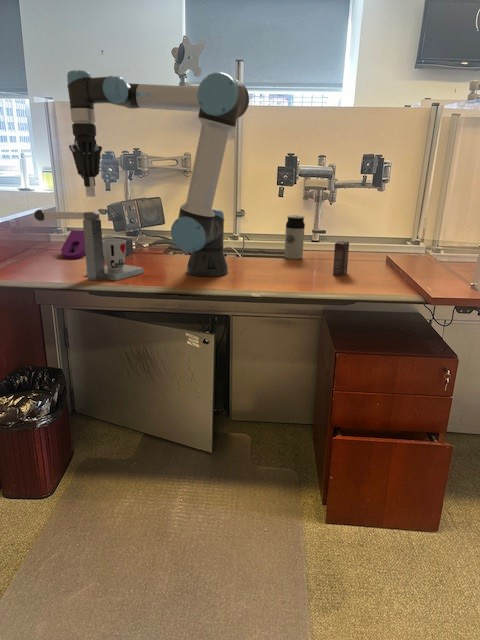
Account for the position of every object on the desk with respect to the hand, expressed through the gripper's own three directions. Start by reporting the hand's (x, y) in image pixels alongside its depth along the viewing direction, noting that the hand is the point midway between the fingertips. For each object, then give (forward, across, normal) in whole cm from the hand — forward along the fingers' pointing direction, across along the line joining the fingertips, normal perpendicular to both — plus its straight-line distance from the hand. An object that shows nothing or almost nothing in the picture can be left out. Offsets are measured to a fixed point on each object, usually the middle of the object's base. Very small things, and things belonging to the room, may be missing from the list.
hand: (90, 196), depth 161 cm
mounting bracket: (+26, -17, -28) cm, 42 cm away
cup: (+25, 0, +9) cm, 26 cm away
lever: (+7, +14, +3) cm, 16 cm away
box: (+29, -46, +77) cm, 95 cm away
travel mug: (+28, -65, +51) cm, 87 cm away
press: (+27, +2, +9) cm, 28 cm away
